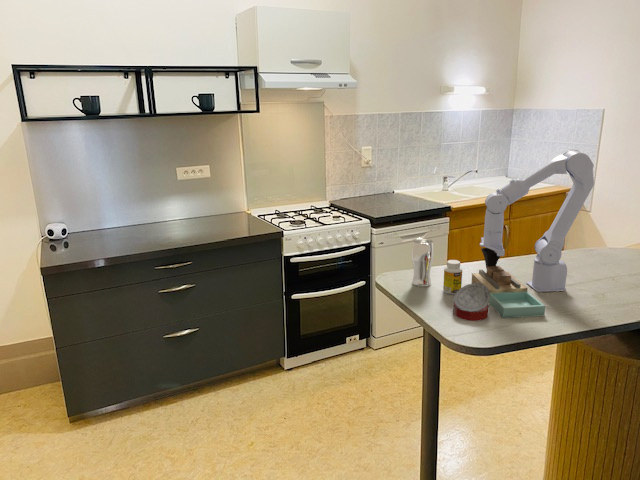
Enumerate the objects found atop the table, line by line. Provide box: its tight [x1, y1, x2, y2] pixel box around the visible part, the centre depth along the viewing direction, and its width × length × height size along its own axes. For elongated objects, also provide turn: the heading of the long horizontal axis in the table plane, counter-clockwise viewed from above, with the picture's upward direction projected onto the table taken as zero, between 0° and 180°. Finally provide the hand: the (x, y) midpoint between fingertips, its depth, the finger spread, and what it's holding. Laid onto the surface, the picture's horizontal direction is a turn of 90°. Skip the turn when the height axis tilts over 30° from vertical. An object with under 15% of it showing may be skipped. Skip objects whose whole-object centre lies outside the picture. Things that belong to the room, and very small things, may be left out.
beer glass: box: [411, 237, 434, 288], centre depth 162 cm, size 7×7×15 cm
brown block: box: [486, 265, 505, 279], centre depth 157 cm, size 4×4×3 cm
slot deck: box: [471, 269, 528, 293], centre depth 155 cm, size 12×14×5 cm
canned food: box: [452, 282, 490, 322], centre depth 141 cm, size 11×10×10 cm
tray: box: [488, 290, 546, 319], centre depth 143 cm, size 12×11×3 cm
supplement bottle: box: [442, 259, 463, 296], centre depth 155 cm, size 6×6×10 cm
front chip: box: [493, 270, 512, 285], centre depth 152 cm, size 4×4×3 cm
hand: (490, 270), depth 161 cm, fingers closed
